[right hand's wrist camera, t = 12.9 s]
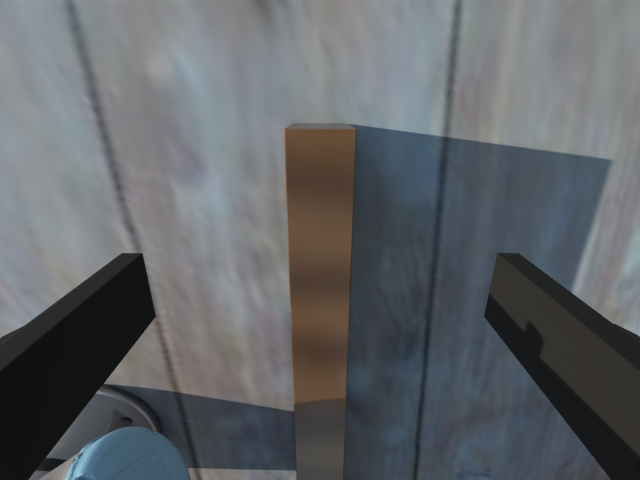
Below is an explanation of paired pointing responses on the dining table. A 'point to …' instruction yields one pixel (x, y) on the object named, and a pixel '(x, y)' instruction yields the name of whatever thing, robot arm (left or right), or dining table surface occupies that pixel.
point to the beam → (320, 288)
